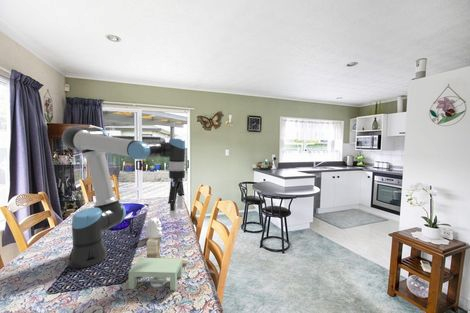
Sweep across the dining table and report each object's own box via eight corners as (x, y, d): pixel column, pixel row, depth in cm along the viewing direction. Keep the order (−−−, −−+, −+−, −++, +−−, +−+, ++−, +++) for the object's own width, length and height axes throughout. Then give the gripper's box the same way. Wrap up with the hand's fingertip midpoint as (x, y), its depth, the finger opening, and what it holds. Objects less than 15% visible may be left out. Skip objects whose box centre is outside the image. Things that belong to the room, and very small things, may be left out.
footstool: (128, 288, 84) (128, 271, 83) (140, 273, 94) (140, 257, 93) (175, 290, 83) (175, 272, 83) (182, 274, 93) (182, 258, 93)
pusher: (185, 265, 100) (185, 242, 99) (147, 264, 101) (146, 241, 100) (188, 260, 105) (188, 238, 104) (151, 259, 105) (150, 237, 104)
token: (148, 288, 85) (148, 284, 85) (154, 279, 91) (154, 275, 91) (163, 289, 85) (163, 285, 84) (168, 279, 91) (168, 275, 90)
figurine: (145, 243, 121) (145, 222, 121) (144, 237, 130) (143, 217, 129) (164, 240, 126) (164, 219, 125) (161, 234, 135) (161, 214, 134)
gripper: (178, 173, 95) (177, 221, 97) (189, 167, 120) (189, 205, 121) (161, 173, 95) (160, 221, 96) (176, 166, 120) (175, 204, 121)
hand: (176, 212), depth 109 cm, fingers open, 13 cm apart
